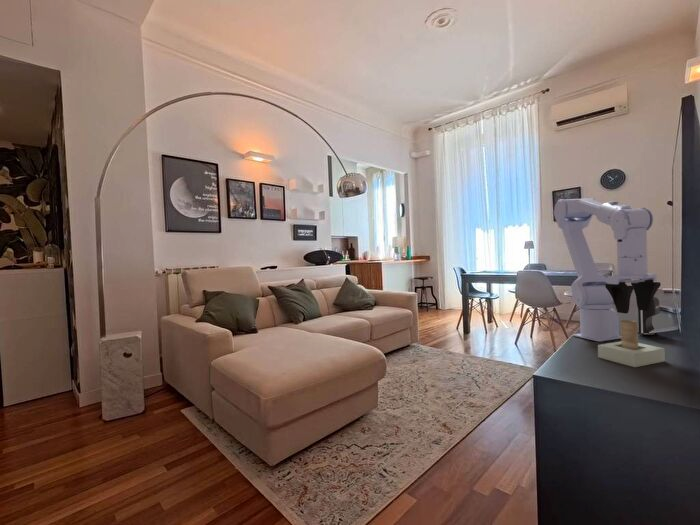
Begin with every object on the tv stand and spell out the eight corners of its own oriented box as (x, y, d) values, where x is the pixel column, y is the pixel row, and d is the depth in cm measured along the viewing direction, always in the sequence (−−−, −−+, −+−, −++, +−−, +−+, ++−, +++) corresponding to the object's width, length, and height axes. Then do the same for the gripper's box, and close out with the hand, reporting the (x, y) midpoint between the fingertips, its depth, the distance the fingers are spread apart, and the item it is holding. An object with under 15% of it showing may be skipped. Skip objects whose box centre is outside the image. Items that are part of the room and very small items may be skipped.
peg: (627, 356, 81) (626, 319, 81) (641, 360, 78) (640, 321, 78) (618, 358, 80) (617, 320, 80) (632, 361, 77) (631, 323, 77)
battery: (655, 337, 97) (654, 298, 97) (638, 335, 100) (637, 297, 100) (661, 333, 101) (660, 295, 101) (645, 331, 104) (644, 295, 104)
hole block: (626, 352, 85) (626, 340, 84) (664, 361, 77) (664, 348, 77) (598, 357, 82) (597, 345, 81) (634, 367, 74) (634, 353, 74)
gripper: (629, 258, 77) (630, 316, 78) (670, 255, 82) (672, 311, 82) (598, 258, 84) (599, 312, 84) (638, 256, 89) (639, 307, 89)
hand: (633, 311), depth 84 cm, fingers open, 7 cm apart
